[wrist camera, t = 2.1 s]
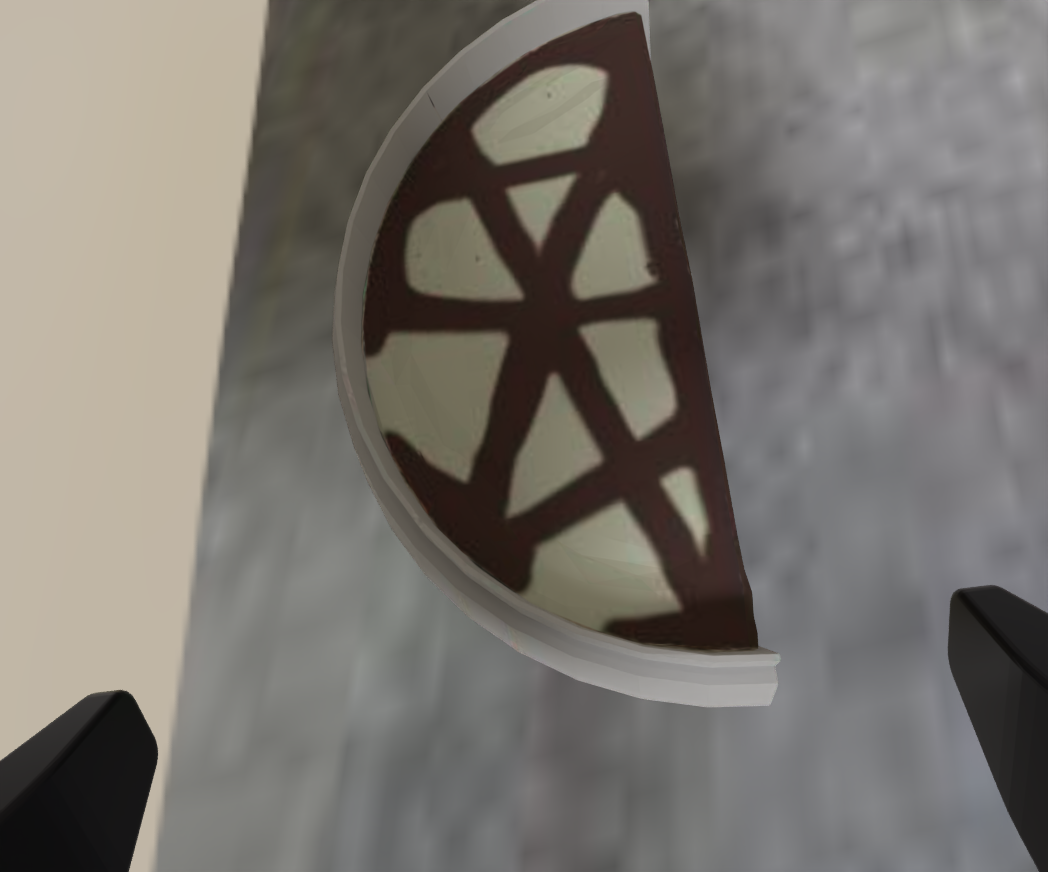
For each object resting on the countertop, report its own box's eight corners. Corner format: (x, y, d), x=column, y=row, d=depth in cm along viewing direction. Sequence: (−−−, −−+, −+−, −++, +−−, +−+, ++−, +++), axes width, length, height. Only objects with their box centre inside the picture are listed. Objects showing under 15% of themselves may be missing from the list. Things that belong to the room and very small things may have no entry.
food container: (433, 277, 25) (290, 8, 15) (650, 240, 24) (642, -65, 14) (470, 734, 21) (308, 757, 11) (730, 705, 20) (790, 705, 11)
